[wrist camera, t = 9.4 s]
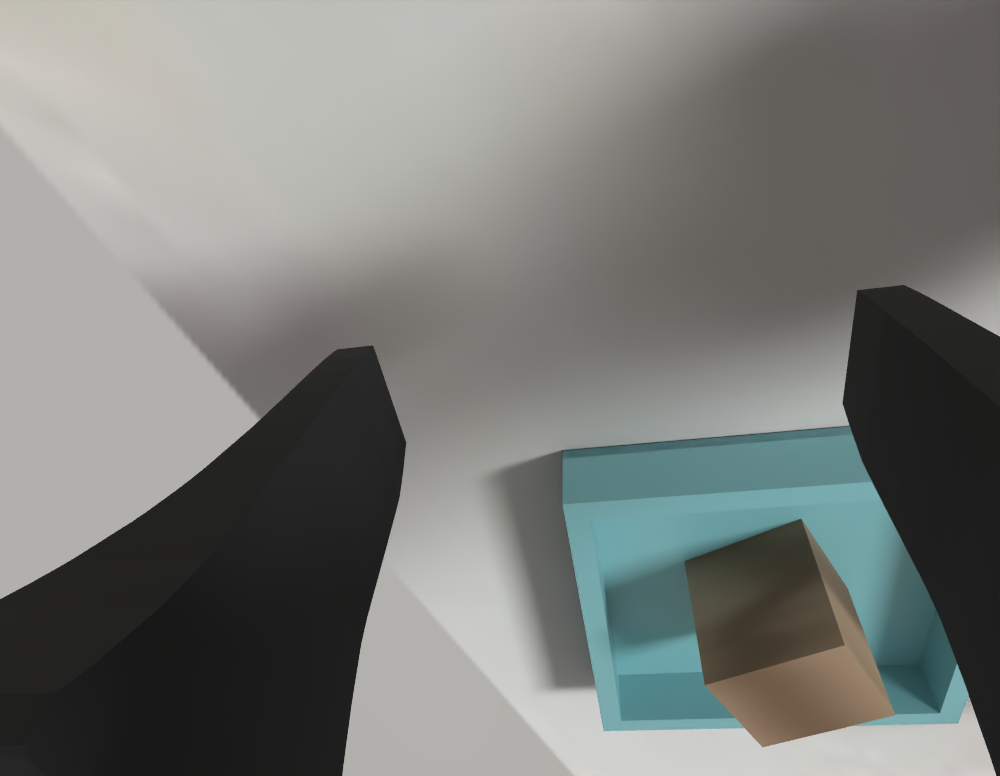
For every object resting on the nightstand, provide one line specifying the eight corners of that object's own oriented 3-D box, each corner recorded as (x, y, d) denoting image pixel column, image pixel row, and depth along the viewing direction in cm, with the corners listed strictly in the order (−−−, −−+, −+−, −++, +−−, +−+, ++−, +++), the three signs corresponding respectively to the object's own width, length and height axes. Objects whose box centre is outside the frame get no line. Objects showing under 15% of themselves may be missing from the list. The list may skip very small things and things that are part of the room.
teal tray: (1011, 412, 23) (1053, 468, 21) (932, 666, 31) (958, 723, 29) (562, 450, 25) (562, 504, 23) (601, 677, 33) (603, 730, 31)
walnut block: (801, 518, 25) (844, 645, 21) (847, 588, 28) (895, 715, 24) (684, 561, 27) (704, 685, 23) (736, 623, 29) (762, 746, 25)
